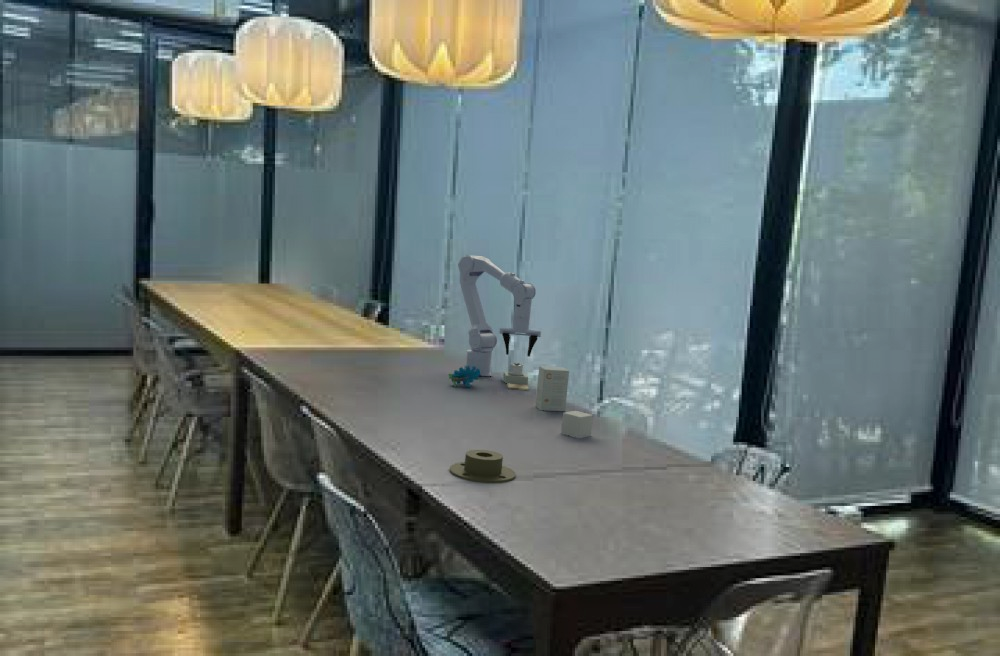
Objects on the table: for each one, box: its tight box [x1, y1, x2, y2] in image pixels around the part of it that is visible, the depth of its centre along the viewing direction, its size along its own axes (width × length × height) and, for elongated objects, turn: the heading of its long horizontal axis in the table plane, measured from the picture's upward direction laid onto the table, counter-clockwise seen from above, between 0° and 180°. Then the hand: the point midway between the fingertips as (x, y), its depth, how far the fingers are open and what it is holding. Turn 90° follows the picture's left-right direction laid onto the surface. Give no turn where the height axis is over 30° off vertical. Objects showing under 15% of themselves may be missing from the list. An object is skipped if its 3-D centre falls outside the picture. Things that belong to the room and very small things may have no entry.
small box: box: [535, 365, 570, 412], centre depth 284 cm, size 8×6×13 cm
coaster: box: [506, 383, 530, 391], centre depth 315 cm, size 7×7×1 cm
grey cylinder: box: [509, 362, 524, 376], centre depth 324 cm, size 4×4×7 cm
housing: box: [502, 371, 529, 386], centre depth 324 cm, size 8×8×3 cm
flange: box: [449, 449, 517, 484], centre depth 206 cm, size 5×15×15 cm
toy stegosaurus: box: [448, 366, 482, 389], centre depth 307 cm, size 11×6×10 cm
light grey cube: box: [560, 410, 594, 439], centre depth 253 cm, size 6×6×6 cm
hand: (517, 355), depth 323 cm, fingers open, 7 cm apart
